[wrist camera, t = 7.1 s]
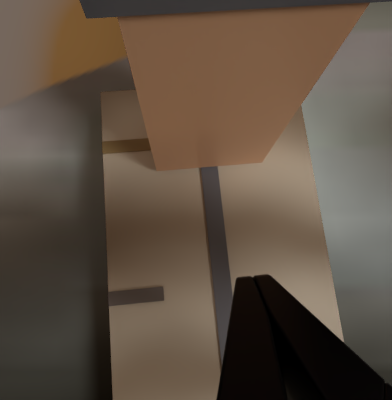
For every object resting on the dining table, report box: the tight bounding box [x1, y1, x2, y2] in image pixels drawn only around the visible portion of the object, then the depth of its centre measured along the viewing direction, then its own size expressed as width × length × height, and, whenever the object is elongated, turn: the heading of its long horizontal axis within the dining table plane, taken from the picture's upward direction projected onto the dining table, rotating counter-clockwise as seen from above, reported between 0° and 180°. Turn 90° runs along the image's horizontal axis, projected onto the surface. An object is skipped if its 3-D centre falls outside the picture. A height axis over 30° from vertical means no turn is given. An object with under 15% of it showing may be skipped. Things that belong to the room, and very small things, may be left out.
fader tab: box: [80, 0, 392, 171], centre depth 11 cm, size 4×6×11 cm, turn 96°
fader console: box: [101, 90, 344, 400], centre depth 16 cm, size 16×10×2 cm, turn 6°
